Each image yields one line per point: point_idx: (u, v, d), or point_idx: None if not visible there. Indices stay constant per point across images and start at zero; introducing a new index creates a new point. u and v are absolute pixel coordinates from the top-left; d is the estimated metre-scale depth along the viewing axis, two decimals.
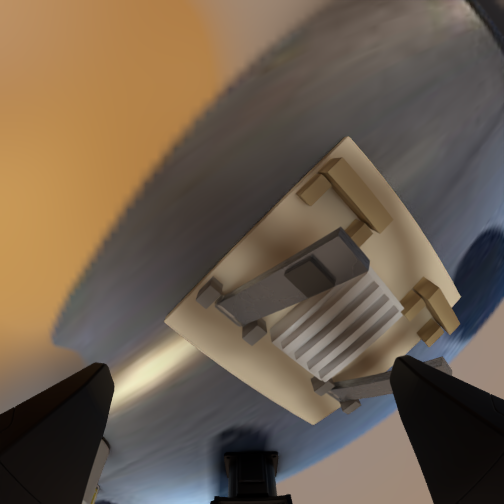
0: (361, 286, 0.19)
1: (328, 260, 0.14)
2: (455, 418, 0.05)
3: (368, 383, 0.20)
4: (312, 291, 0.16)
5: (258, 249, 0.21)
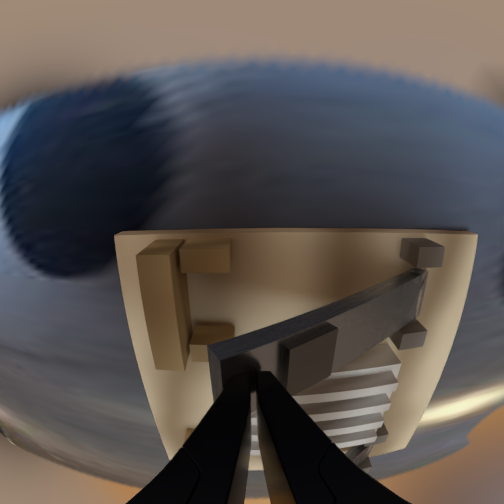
0: (258, 451, 0.13)
1: None
2: (274, 459, 0.05)
3: (367, 350, 0.11)
4: None
5: None
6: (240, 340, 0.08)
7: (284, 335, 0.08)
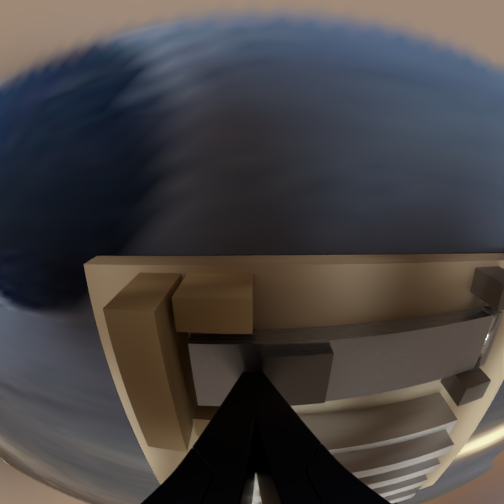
0: None
1: None
2: (263, 459, 0.05)
3: (391, 390, 0.08)
4: None
5: None
6: None
7: (264, 341, 0.08)
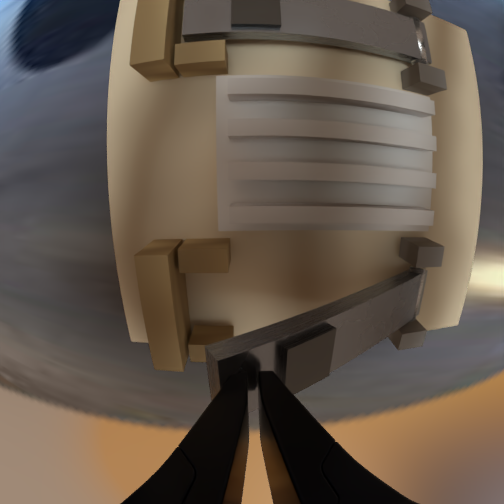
0: (257, 210, 0.10)
1: None
2: (277, 458, 0.05)
3: (340, 39, 0.09)
4: (322, 341, 0.09)
5: None
6: None
7: None
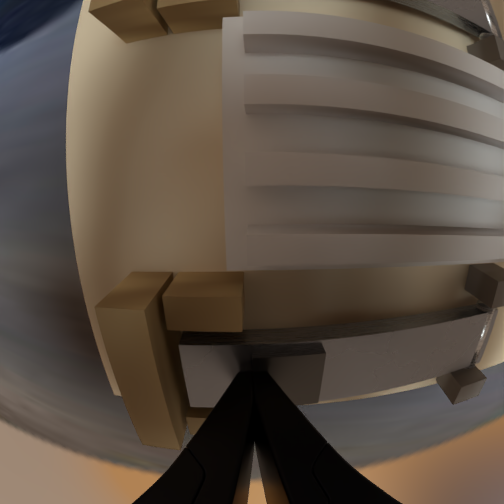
0: (298, 241, 0.05)
1: None
2: (269, 459, 0.05)
3: None
4: (303, 363, 0.07)
5: None
6: None
7: None
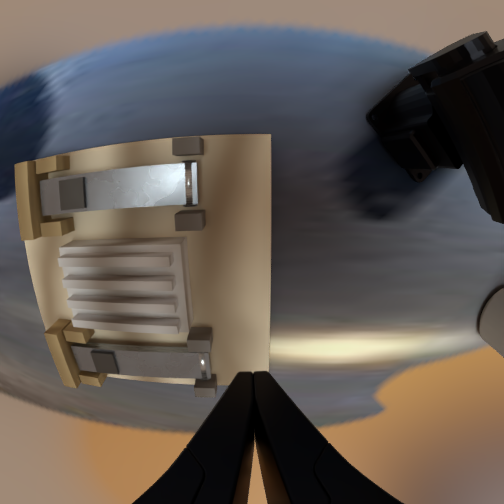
0: (82, 322, 0.17)
1: (89, 363, 0.20)
2: (270, 459, 0.05)
3: None
4: (105, 356, 0.19)
5: None
6: None
7: None
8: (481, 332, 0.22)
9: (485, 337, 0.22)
